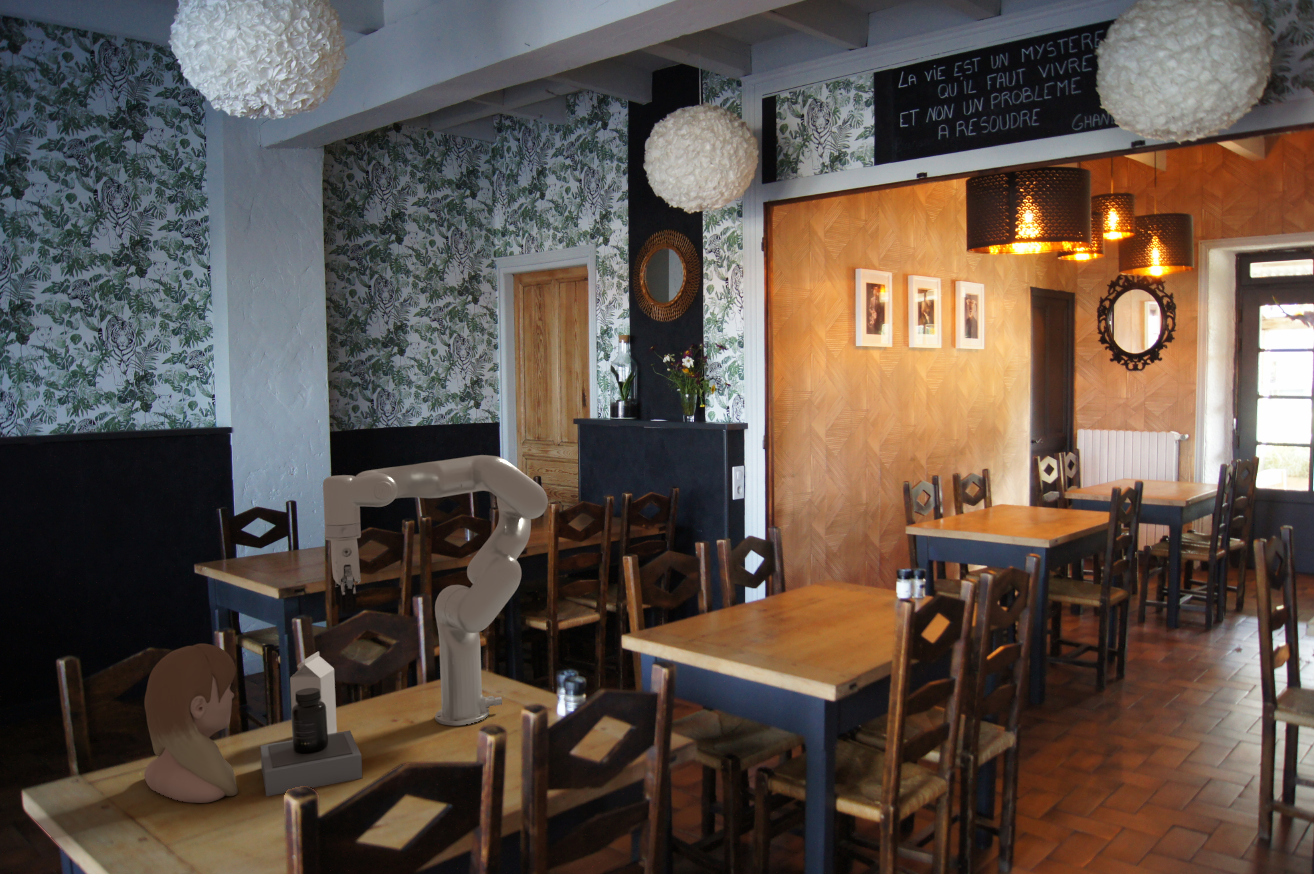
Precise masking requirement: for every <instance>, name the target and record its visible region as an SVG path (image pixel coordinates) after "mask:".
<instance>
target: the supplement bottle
mask: <svg viewBox="0 0 1314 874" xmlns="http://www.w3.org/2000/svg"><path fill="white" fill-rule="evenodd" d="M295 697H296V699H295V702H296V703H297V704H296V705H294V706H293V708H292V707H291V711H290V713H291V715H290V717H291V718H290V719H291V730H292V732H291V734H292V740H293V749H294V751H295V752H297V753H300V754H309V753H315V752H318V751H321V750H323V749H325V748H326V747H327V745H328V730H327V712H326V705H325V703H324V702H322V701H320V699H321V695H320V689H318V688H305V689H301V690H299V691H297V692H296V693H295Z"/></svg>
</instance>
